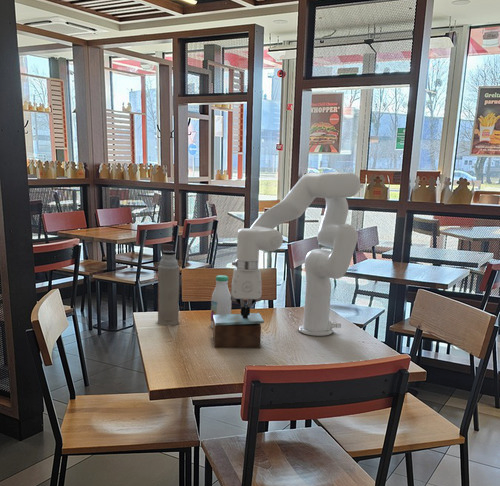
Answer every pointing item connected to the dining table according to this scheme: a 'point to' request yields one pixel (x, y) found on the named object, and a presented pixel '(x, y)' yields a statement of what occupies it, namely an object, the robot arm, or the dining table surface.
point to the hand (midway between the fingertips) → (245, 317)
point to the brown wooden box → (236, 336)
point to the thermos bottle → (168, 290)
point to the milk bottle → (220, 298)
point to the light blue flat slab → (237, 319)
